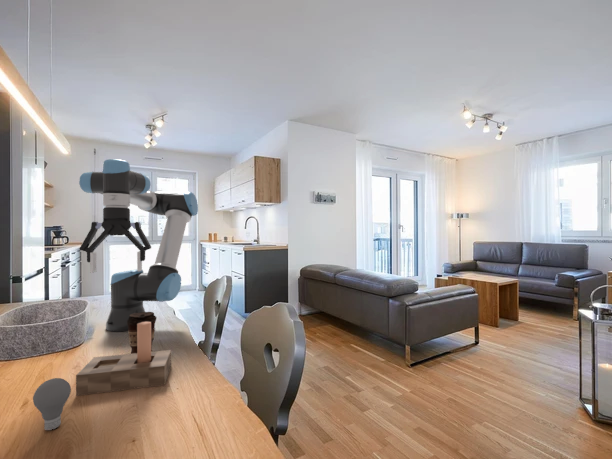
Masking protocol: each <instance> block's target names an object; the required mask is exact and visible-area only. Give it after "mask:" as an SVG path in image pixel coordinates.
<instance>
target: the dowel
mask: <svg viewBox="0 0 612 459" xmlns="http://www.w3.org/2000/svg"><path fill="white" fill-rule="evenodd" d="M148 362H151V322H141V323H138V324H137V364H139V363H148Z"/></svg>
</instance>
